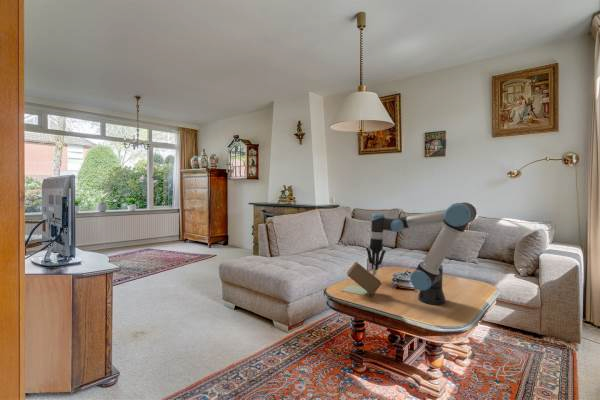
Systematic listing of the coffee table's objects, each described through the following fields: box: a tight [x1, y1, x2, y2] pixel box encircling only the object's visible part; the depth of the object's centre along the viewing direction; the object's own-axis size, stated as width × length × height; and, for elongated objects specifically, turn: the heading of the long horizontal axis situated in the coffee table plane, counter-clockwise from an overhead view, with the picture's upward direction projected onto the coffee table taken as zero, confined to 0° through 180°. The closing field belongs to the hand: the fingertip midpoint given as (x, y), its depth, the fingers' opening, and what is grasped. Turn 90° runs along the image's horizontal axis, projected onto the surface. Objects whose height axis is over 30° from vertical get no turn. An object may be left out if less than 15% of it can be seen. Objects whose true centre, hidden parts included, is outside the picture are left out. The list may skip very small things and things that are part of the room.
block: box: [346, 261, 383, 296], centre depth 201 cm, size 10×10×20 cm
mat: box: [341, 284, 369, 296], centre depth 209 cm, size 16×14×1 cm
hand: (374, 274), depth 201 cm, fingers closed
